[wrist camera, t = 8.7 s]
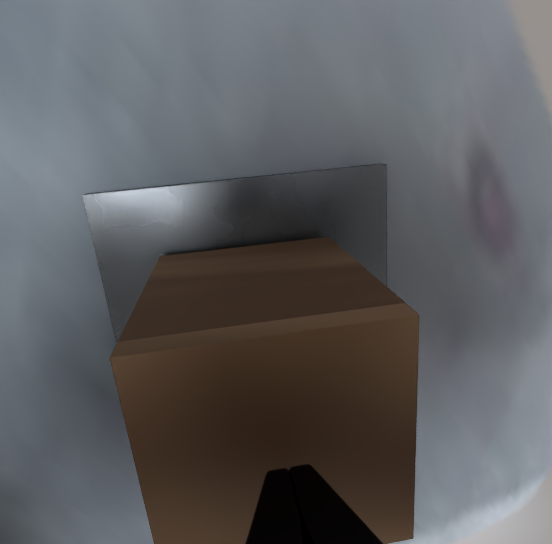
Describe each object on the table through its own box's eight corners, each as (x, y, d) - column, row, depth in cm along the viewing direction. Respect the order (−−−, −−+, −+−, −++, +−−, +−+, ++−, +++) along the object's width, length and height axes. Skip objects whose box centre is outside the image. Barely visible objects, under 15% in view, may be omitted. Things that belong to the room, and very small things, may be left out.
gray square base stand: (383, 405, 18) (484, 564, 11) (143, 444, 17) (95, 647, 10) (381, 163, 14) (522, 182, 8) (86, 194, 13) (-41, 245, 7)
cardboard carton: (334, 380, 16) (413, 538, 9) (186, 403, 15) (164, 588, 9) (328, 236, 14) (418, 314, 8) (159, 256, 13) (109, 357, 7)
